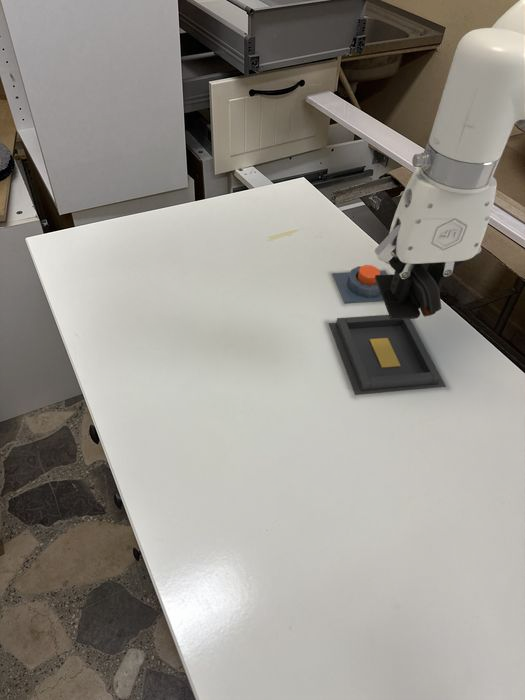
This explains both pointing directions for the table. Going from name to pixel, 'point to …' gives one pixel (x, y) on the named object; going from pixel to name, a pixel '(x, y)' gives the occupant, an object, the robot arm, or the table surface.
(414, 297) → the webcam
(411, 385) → the dock
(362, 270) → the power button
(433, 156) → the robot arm
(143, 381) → the table surface
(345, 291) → the button base
